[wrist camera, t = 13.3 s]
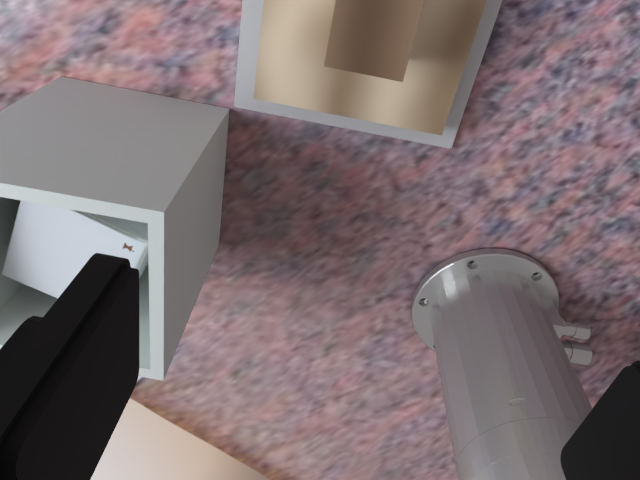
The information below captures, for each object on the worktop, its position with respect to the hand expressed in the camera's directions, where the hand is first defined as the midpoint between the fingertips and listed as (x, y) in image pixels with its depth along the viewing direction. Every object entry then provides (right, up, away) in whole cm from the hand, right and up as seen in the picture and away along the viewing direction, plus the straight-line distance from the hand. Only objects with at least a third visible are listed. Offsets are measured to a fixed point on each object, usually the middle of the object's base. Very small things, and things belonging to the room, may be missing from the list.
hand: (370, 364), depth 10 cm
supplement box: (-15, +8, +30) cm, 35 cm away
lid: (+2, +17, +22) cm, 28 cm away
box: (-15, +8, +30) cm, 34 cm away
